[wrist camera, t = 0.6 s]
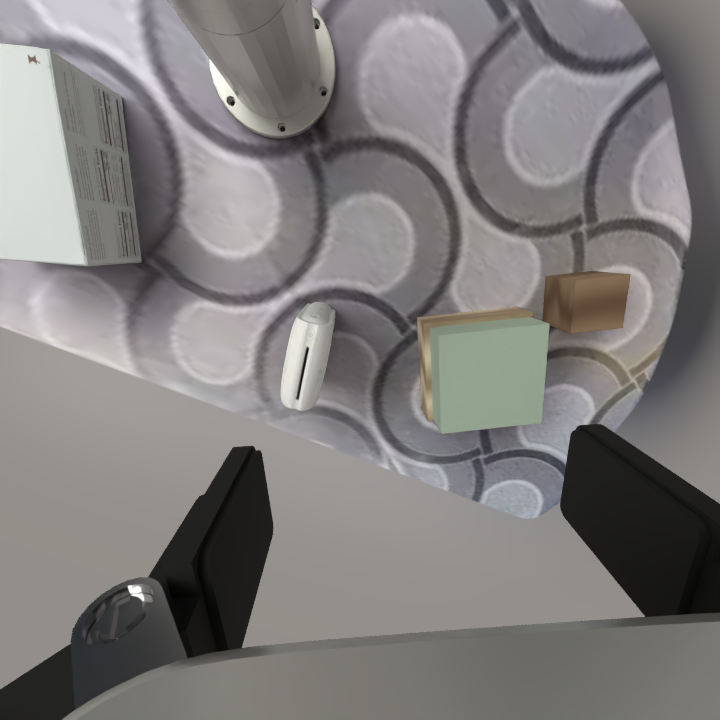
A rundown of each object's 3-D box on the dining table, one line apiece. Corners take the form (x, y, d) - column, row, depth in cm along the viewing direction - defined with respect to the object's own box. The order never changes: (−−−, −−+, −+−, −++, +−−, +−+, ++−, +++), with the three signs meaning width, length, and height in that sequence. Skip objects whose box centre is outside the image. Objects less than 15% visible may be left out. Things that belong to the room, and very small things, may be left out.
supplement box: (-9, 82, 35) (-133, 24, 26) (124, 96, 35) (49, 44, 26) (28, 254, 40) (-64, 256, 31) (143, 263, 41) (86, 267, 32)
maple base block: (416, 316, 44) (423, 323, 40) (515, 305, 44) (533, 311, 40) (420, 406, 48) (427, 421, 44) (511, 396, 48) (527, 410, 44)
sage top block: (429, 327, 40) (438, 335, 36) (530, 316, 40) (549, 323, 36) (432, 417, 44) (441, 433, 40) (524, 407, 44) (541, 422, 40)
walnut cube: (545, 276, 43) (575, 280, 37) (592, 271, 43) (630, 274, 37) (542, 322, 44) (570, 333, 39) (587, 317, 44) (622, 327, 39)
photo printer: (305, 297, 42) (289, 315, 31) (339, 304, 43) (336, 326, 31) (291, 372, 45) (271, 415, 34) (322, 378, 46) (314, 423, 34)
